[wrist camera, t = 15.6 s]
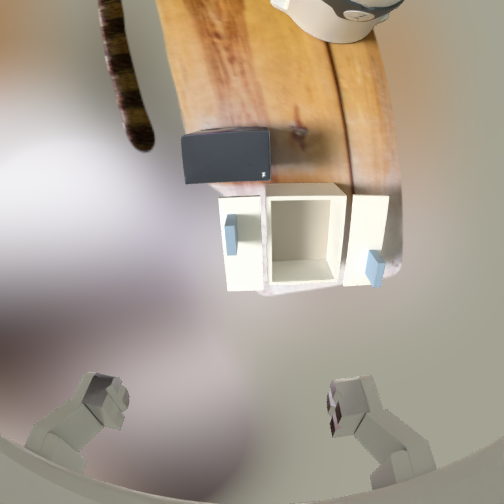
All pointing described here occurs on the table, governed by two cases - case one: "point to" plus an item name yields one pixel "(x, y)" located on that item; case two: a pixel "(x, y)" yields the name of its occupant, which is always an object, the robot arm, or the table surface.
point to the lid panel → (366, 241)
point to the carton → (304, 232)
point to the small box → (227, 155)
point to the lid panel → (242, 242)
